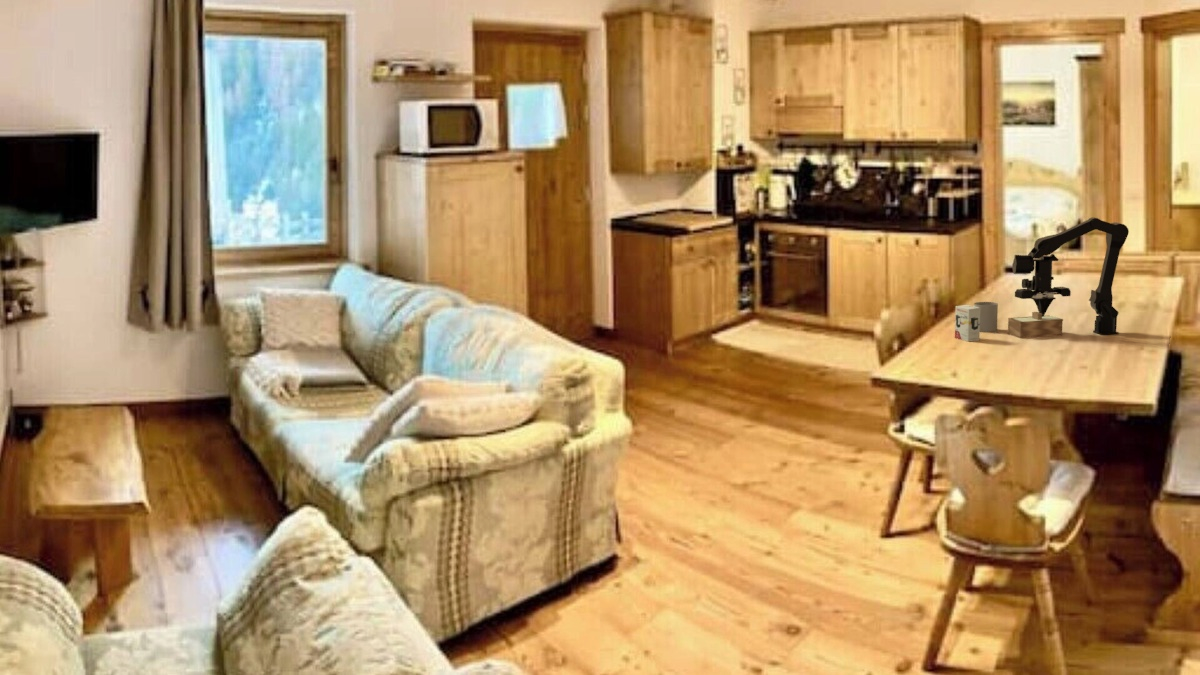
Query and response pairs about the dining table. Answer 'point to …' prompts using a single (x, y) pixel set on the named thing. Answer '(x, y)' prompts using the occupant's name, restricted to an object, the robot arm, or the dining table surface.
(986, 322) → the cup
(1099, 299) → the robot arm
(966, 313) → the ink box
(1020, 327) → the box
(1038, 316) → the lid
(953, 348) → the dining table surface
